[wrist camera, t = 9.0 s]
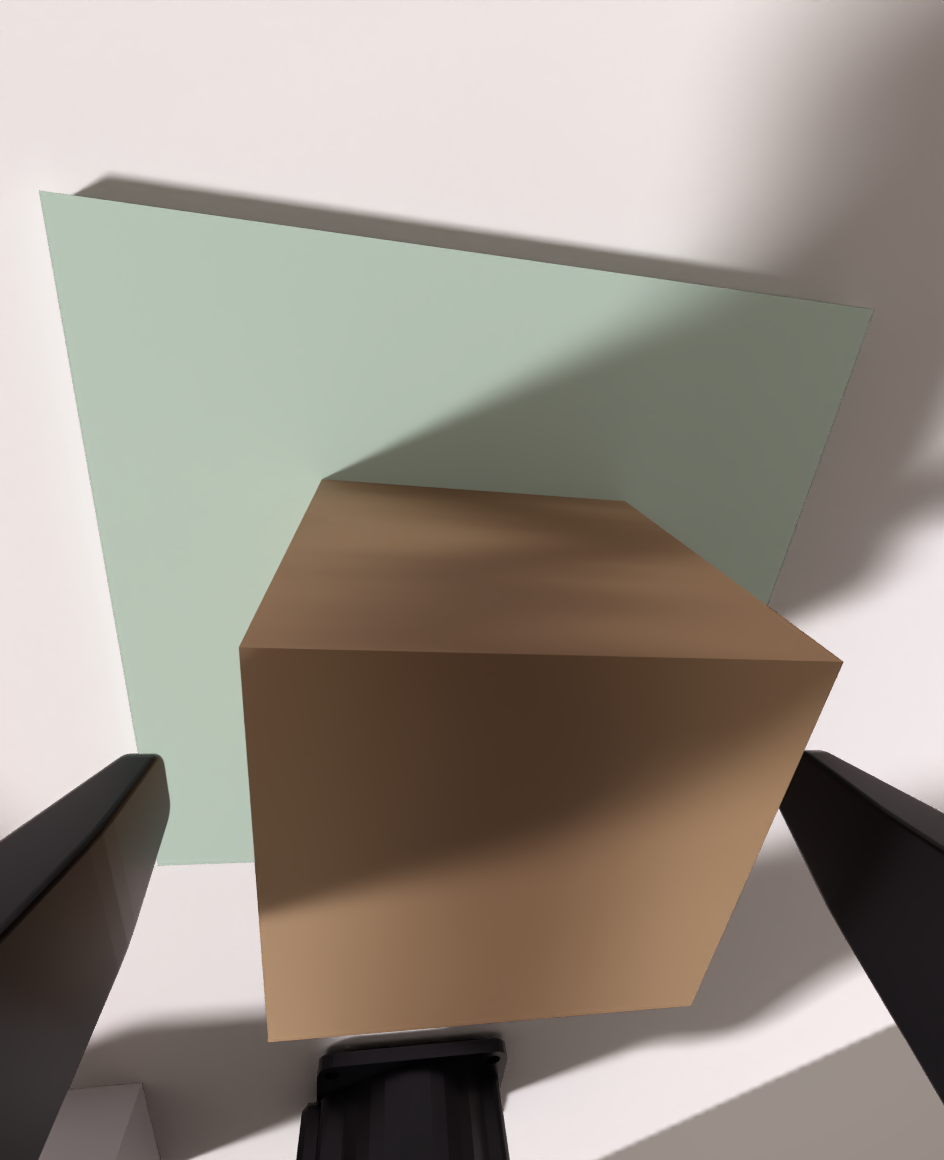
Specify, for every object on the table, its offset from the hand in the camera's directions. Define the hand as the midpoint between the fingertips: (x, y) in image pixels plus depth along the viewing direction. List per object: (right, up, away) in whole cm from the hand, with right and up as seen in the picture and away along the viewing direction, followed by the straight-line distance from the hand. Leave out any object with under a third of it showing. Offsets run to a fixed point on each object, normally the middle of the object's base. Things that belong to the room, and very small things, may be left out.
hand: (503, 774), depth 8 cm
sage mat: (-1, +2, +5) cm, 5 cm away
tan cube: (-1, +2, +4) cm, 5 cm away
